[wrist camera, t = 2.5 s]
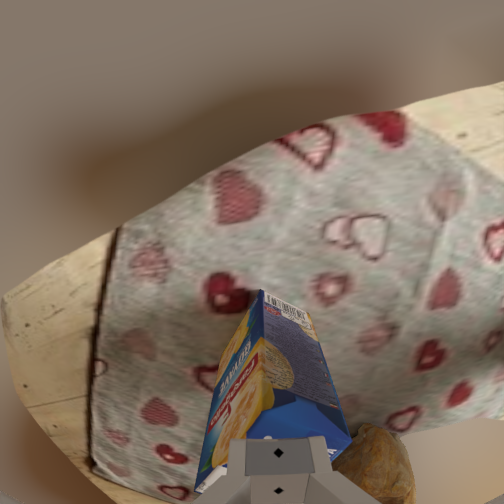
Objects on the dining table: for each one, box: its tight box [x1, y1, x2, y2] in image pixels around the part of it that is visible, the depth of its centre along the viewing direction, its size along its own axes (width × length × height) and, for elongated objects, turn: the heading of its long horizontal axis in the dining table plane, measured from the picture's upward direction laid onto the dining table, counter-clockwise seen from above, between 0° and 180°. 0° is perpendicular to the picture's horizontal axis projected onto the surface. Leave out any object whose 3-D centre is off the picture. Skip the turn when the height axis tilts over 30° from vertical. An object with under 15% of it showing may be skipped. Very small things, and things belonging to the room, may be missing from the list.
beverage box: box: [194, 289, 353, 494], centre depth 29 cm, size 7×11×22 cm, turn 152°
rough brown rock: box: [331, 423, 416, 504], centre depth 38 cm, size 23×17×15 cm
